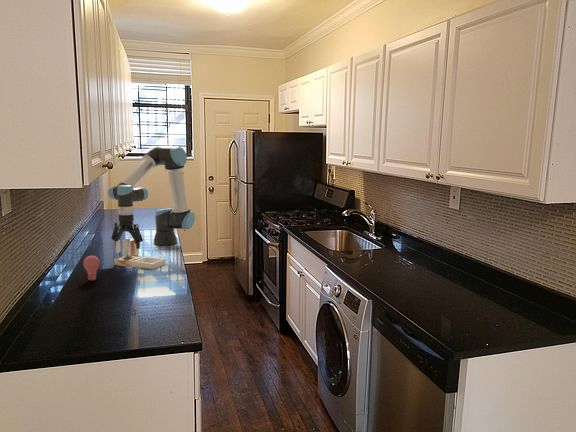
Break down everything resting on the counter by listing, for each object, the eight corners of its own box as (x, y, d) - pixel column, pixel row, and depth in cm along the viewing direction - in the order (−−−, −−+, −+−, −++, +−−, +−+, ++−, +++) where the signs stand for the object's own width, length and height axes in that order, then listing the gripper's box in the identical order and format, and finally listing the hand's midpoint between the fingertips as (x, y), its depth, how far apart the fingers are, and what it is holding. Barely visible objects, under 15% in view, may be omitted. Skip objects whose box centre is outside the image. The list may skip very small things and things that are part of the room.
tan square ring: (126, 260, 245) (126, 255, 245) (141, 262, 242) (141, 257, 242) (114, 264, 236) (114, 259, 236) (129, 266, 233) (129, 261, 232)
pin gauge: (127, 262, 241) (126, 237, 239) (132, 263, 240) (131, 238, 238) (123, 264, 238) (122, 238, 236) (128, 264, 237) (127, 239, 235)
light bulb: (93, 277, 213) (92, 253, 212) (103, 279, 210) (102, 255, 208) (81, 281, 207) (79, 256, 205) (91, 283, 204) (89, 258, 202)
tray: (146, 261, 243) (145, 256, 243) (166, 264, 239) (165, 258, 239) (131, 267, 232) (131, 261, 232) (152, 269, 228) (152, 264, 228)
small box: (131, 259, 248) (130, 241, 247) (122, 258, 249) (121, 240, 248) (138, 256, 256) (138, 238, 255) (130, 255, 257) (129, 237, 256)
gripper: (103, 213, 235) (105, 253, 238) (139, 216, 227) (141, 257, 231) (112, 211, 242) (114, 250, 246) (148, 214, 234) (150, 253, 238)
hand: (127, 253), depth 238 cm, fingers open, 11 cm apart
